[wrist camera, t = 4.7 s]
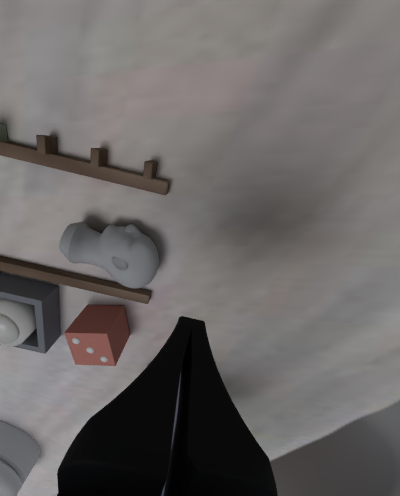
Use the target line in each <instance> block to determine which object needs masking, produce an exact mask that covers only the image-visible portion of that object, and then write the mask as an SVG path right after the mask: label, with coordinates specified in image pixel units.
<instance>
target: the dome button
mask: <svg viewBox="0 0 400 496" xmlns="http://www.w3.org/2000/svg"><path fill="white" fill-rule="evenodd" d="M36 328H37V327H36V316H35V305H31V304H27V303H23V302H18V301H14V300H10V299H5V298H1V297H0V345H4V346H17V345H19V344H21V343H22V342H23V341H24V340H25V339H26V338H27V337H28V336H29V335H30V334H31V333H32V332H33V331H34V330H35V329H36Z"/></svg>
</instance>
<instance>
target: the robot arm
mask: <svg viewBox="0 0 400 496" xmlns="http://www.w3.org/2000/svg"><path fill="white" fill-rule="evenodd" d="M57 476H58V491H59V493H58V495H57V496H278V495H277V488H276V483H275V480H274V476H273V471H272V468H271V465H270V461H269V458H268V457H267V455H266V454H265V453H264V451H263V450H262V448H261V447H260V446H259V444H258V443H257V441H256V440H255V438H254V437H253V435H252V434H251V432H250V431H249V429H248V427H247V426H246V424H245V423H244V421H243V419H242V418H241V416H240V414H239V412H238V411H237V409H236V407H235V405H234V404H233V402H232V400H231V398H230V396H229V394H228V392H227V390H226V388H225V386H224V383H223V381H222V379H221V377H220V374H219V372H218V369H217V366H216V364H215V361H214V358H213V355H212V352H211V348H210V345H209V341H208V337H207V333H206V327H205V323H204V321H201V320H196V319H192V318H188V317H183V316H181V317H179V320H178V323H177V325H176V327H175V329H174V331H173V332H172V334H171V336H170V337H169V339H168V340H167V342H166V343H165V345H164V346H163V348H162V349H161V350H160V352H159V353H158V354H157V356H156V357H155V358H154V359H153V361H152V362H151V363H150V364H149V365H148V366H147V367H146V369H145V370H144V371H143V372H142V373H141V374H140V375H139V376H138V377H137V378H136V379H135V380H134V381H133V382H132V383H131V384H130V385H129V386H128V387H127V388H126V389H125V390H124V391H123V392H121V393H120V394H119V395H118V396H117V397H116V398H115V399H114V400H112V401H111V402H110V403H109V404H108V405H106V406H105V407H104V408H102V409H101V410H100V411H99V412H97V413H96V414H95V415H94V416H92V417H91V418H90V419H89V420H88V421H87V423H86V424H85V425H84V427H83V428H82V429H81V431H80V432H79V433H78V435H77V436H76V438H75V439H74V441H73V442H72V444H71V446H70V447H69V449H68V451H67V453H66V455H65V457H64V459H63V461H62V463H61V465H60V467H59V469H58V473H57Z"/></svg>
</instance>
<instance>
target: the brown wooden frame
mask: <svg viewBox="0 0 400 496" xmlns="http://www.w3.org/2000/svg"><path fill="white" fill-rule="evenodd" d="M36 138H37V149H36V148H32V147H27V146H23V145H19V144H15V143H11V142H8V139H7V130H6V125H4V124H0V155H2V156H6V157H10V158H14V159H18V160H22V161H27V162H31V163H35V164H39V165H43V166H47V167H51V168H55V169H60V170H64V171H68V172H72V173H76V174H80V175H84V176H88V177H92V178H97V179H101V180H105V181H109V182H113V183H117V184H121V185H125V186H130V187H134V188H138V189H142V190H146V191H150V192H154V193H158V194H163V195H166V194H168V188H169V182H170V181H167V180H163V179H158V178H155V175H156V168H157V162H154V161H145V163H144V171H143V175H142V174H138V173H134V172H130V171H126V170H122V169H118V168H113V167H109V166H107V150H105V149H101V148H91V160H90V162H89V161H85V160H81V159H77V158H72V157H68V156H64V155H60V154H57V137H52V136H46V135H36ZM0 270H2V271H6V272H11V273H15V274H19V275H24V276H28V277H32V278H37V279H41V280H45V281H50V282H54V283H58V284H63V285H67V286H71V287H76V288H80V289H84V290H89V291H93V292H97V293H102V294H106V295H110V296H115V297H119V298H123V299H128V300H132V301H136V302H141V303H145V304H148V303H149V300H150V296H151V291H148V290H143V289H139V288H129V287H125V286H123V285H121V284H118V283H113V282H109V281H105V280H100V279H96V278H92V277H87V276H83V275H79V274H74V273H70V272H66V271H62V270H57V269H53V268H49V267H44V266H40V265H36V264H31V263H27V262H23V261H18V260H14V259H10V258H6V257H1V256H0Z"/></svg>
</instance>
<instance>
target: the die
mask: <svg viewBox="0 0 400 496" xmlns="http://www.w3.org/2000/svg"><path fill="white" fill-rule="evenodd" d="M64 333H65V336H66V339H67V342H68V345H69V347H70V350H71V353H72V356H73V359H74V362H75V364H78V365H104V366H116V363H117V361H118V359H119V357H120V355H121V353H122V351H123V349H124V346H125V344H126V342H127V340H128V338H129V336H130V332H129V328H128V323H127V318H126V313H125V308H124V305H87V306H86V307H85V308H84V310H83V311H82V312H81V313H80V314H79V316H78V317H77V318H76V319H75V320H74V322H73V323H72V324H71V325H70V326H69V328H68V329H67V330H66V331H65V332H64Z"/></svg>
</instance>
